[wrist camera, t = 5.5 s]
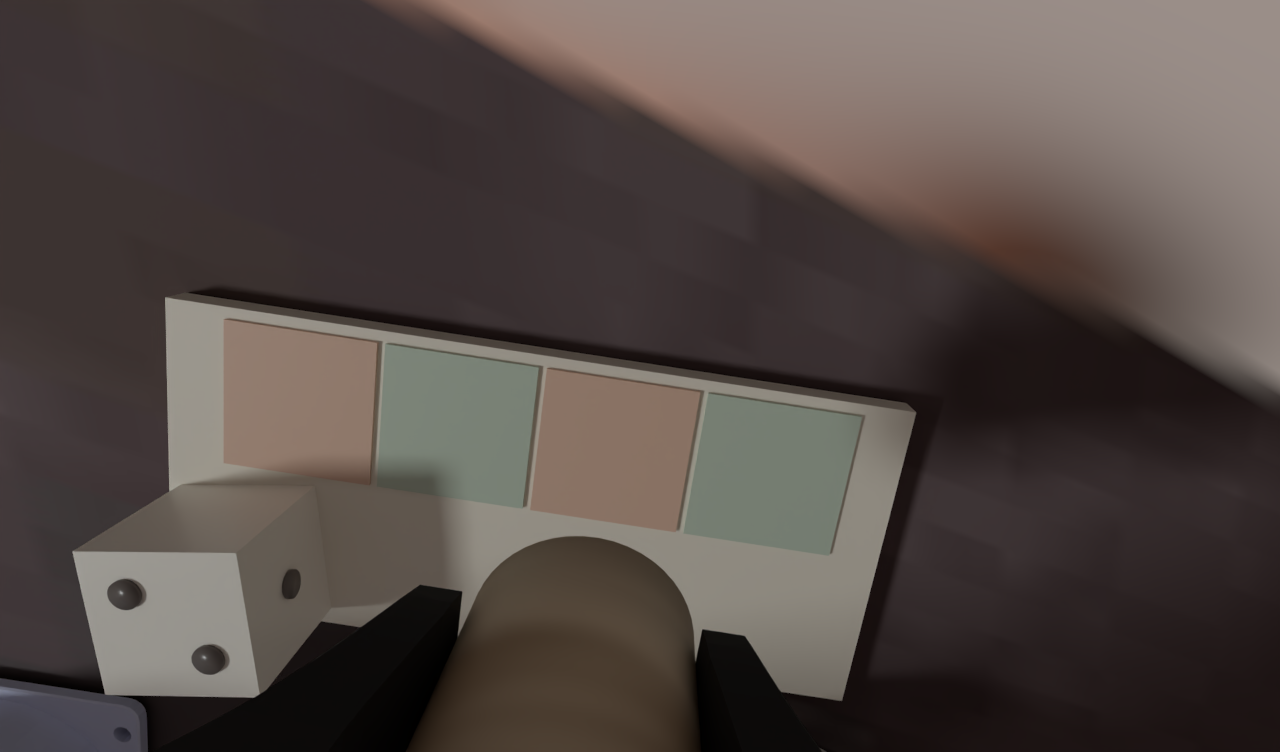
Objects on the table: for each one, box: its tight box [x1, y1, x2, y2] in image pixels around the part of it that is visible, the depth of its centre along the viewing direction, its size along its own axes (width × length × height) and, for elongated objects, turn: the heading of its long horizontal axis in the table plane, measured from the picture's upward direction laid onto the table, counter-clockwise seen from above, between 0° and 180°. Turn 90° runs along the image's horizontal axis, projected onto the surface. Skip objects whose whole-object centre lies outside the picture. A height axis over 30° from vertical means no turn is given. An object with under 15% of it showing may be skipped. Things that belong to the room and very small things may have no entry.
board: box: [165, 293, 916, 701], centre depth 19 cm, size 8×19×1 cm, turn 82°
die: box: [72, 485, 331, 698], centre depth 18 cm, size 4×4×4 cm
